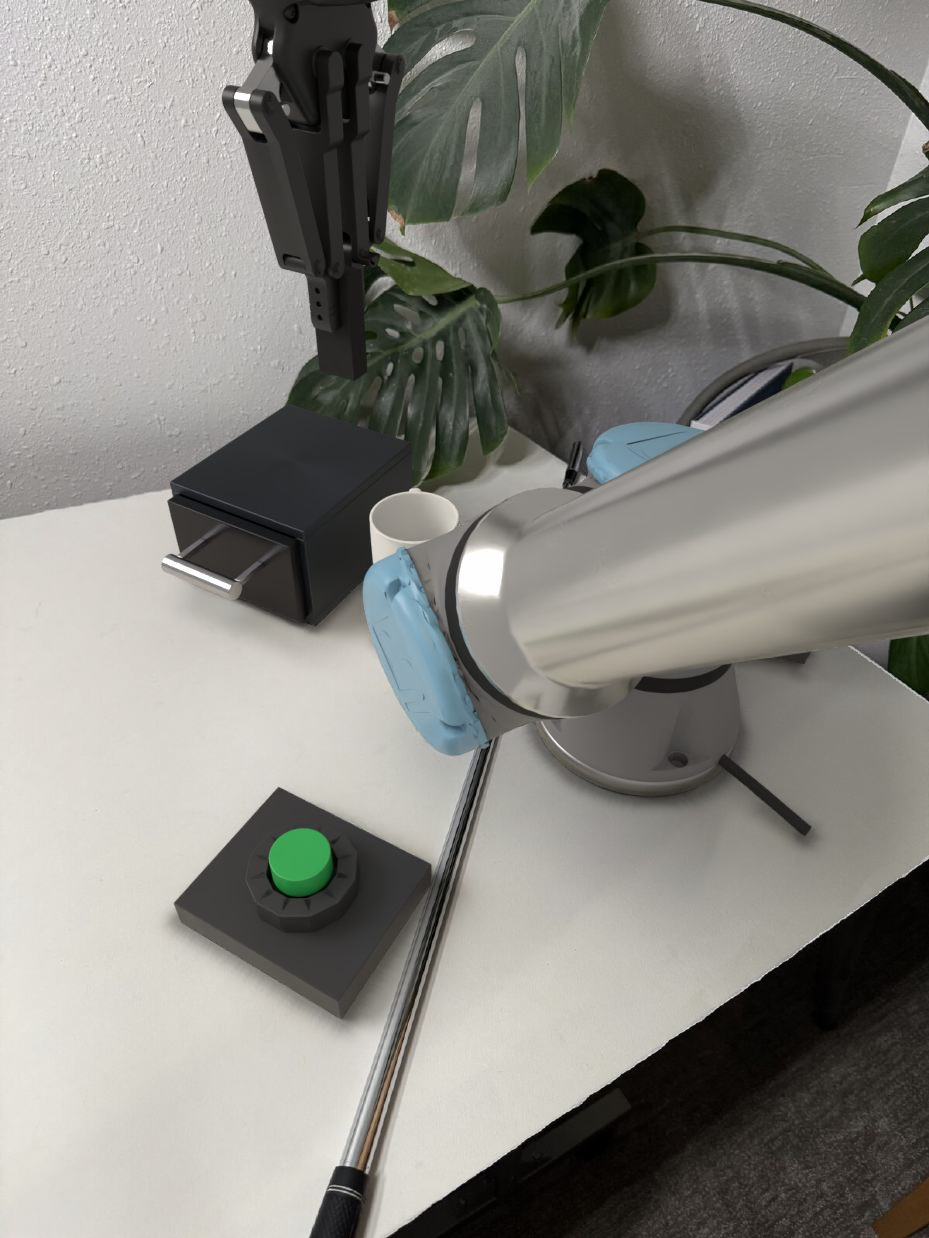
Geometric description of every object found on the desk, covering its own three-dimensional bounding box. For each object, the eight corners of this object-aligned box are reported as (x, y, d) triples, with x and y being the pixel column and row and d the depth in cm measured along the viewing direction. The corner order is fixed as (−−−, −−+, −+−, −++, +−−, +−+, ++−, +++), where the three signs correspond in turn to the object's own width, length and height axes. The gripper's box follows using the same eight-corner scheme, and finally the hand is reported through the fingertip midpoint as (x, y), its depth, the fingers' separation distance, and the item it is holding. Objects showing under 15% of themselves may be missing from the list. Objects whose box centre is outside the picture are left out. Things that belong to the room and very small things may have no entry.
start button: (344, 860, 53) (342, 843, 52) (308, 907, 51) (305, 890, 50) (297, 835, 55) (294, 818, 53) (259, 879, 52) (255, 863, 51)
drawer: (266, 655, 70) (252, 578, 65) (148, 603, 75) (126, 527, 69) (394, 534, 83) (391, 461, 78) (287, 496, 87) (277, 425, 82)
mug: (458, 662, 71) (460, 543, 63) (375, 662, 71) (367, 543, 63) (455, 583, 79) (457, 468, 71) (380, 584, 79) (373, 468, 71)
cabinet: (315, 626, 74) (303, 532, 68) (191, 574, 79) (168, 481, 73) (413, 531, 85) (411, 442, 78) (298, 491, 90) (287, 403, 83)
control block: (431, 883, 56) (431, 847, 54) (341, 1019, 50) (335, 986, 47) (282, 806, 61) (275, 769, 58) (180, 922, 54) (166, 886, 51)
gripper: (324, -112, 46) (353, 323, 62) (143, -105, 38) (230, 398, 53) (447, -106, 44) (445, 347, 59) (283, -97, 35) (331, 430, 51)
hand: (343, 371), depth 56 cm, fingers closed
